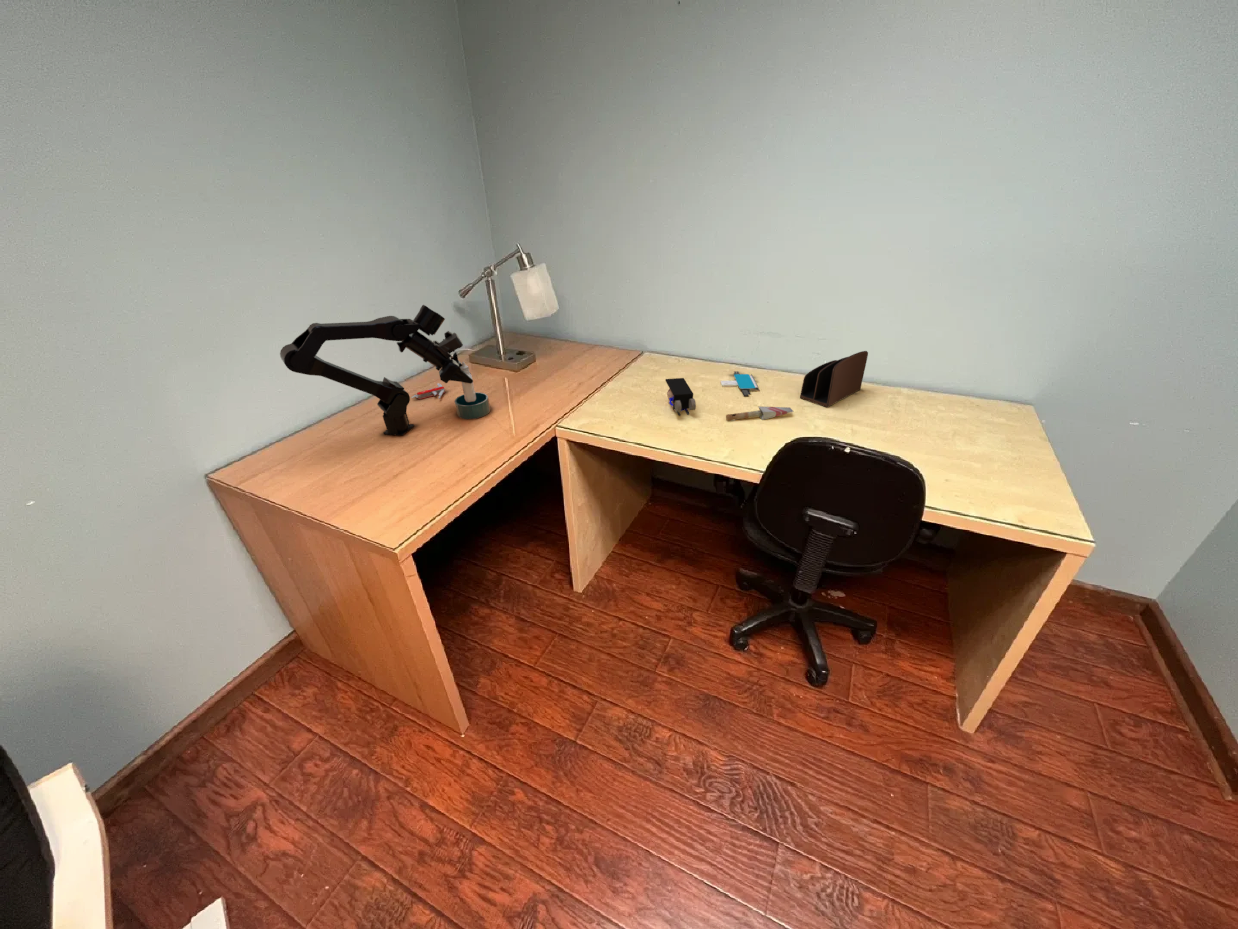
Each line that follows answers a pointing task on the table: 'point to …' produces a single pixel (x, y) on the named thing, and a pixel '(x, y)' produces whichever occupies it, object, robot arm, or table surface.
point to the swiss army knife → (431, 392)
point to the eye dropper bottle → (468, 385)
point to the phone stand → (742, 383)
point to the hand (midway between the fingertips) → (471, 378)
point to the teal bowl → (472, 406)
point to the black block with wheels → (680, 395)
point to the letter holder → (834, 380)
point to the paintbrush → (761, 413)
